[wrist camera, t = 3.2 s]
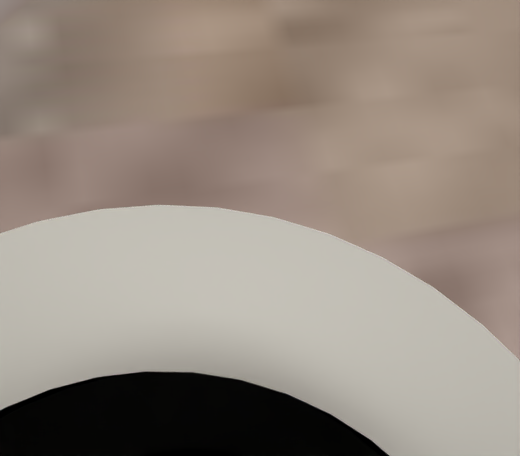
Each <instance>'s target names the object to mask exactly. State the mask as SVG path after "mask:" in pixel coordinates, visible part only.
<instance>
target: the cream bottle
mask: <svg viewBox="0 0 520 456" xmlns="http://www.w3.org/2000/svg"><path fill="white" fill-rule="evenodd" d="M0 456H520V360H519V359H518V358H517V357H516V356H515V355H514V354H513V353H511V352H510V351H509V350H508V349H507V348H506V347H505V346H504V345H503V344H502V343H501V342H500V341H499V340H498V339H497V338H496V337H495V336H494V335H493V334H492V333H491V332H489V331H488V330H487V329H486V328H485V327H484V326H483V325H482V324H481V323H480V322H478V321H477V320H476V319H474V318H473V317H472V316H470V315H469V314H468V313H466V312H465V311H464V310H462V309H461V308H460V307H458V306H457V305H456V304H455V303H453V302H452V301H451V300H449V299H448V298H447V297H445V296H444V295H443V294H441V293H440V292H439V291H437V290H436V289H435V288H433V287H432V286H430V285H429V284H427V283H425V282H423V281H422V280H420V279H418V278H417V277H415V276H413V275H412V274H410V273H408V272H407V271H405V270H403V269H401V268H400V267H398V266H396V265H395V264H393V263H391V262H390V261H388V260H386V259H385V258H383V257H381V256H379V255H376V254H374V253H372V252H370V251H367V250H365V249H363V248H360V247H358V246H356V245H354V244H351V243H349V242H347V241H344V240H342V239H340V238H338V237H335V236H333V235H331V234H328V233H325V232H322V231H318V230H315V229H312V228H308V227H305V226H302V225H298V224H295V223H292V222H288V221H285V220H282V219H278V218H275V217H270V216H264V215H258V214H252V213H246V212H241V211H235V210H229V209H223V208H216V207H194V206H172V205H151V206H138V207H125V208H111V209H99V210H94V211H89V212H83V213H78V214H73V215H68V216H63V217H58V218H53V219H48V220H43V221H38V222H35V223H31V224H28V225H25V226H22V227H19V228H16V229H13V230H9V231H6V232H3V233H0Z"/></svg>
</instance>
